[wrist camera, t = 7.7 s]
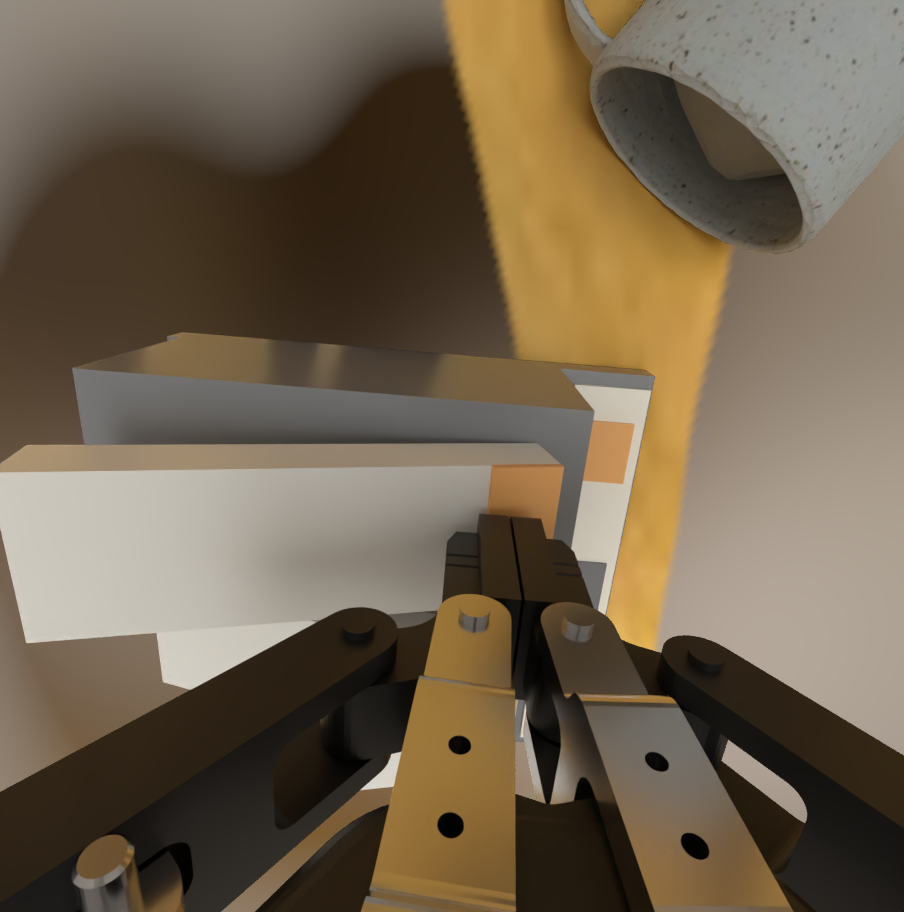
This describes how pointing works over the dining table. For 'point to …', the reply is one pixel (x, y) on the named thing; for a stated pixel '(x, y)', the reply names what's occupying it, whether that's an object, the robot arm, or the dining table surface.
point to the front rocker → (248, 529)
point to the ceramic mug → (750, 107)
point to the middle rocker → (233, 647)
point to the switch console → (387, 415)
